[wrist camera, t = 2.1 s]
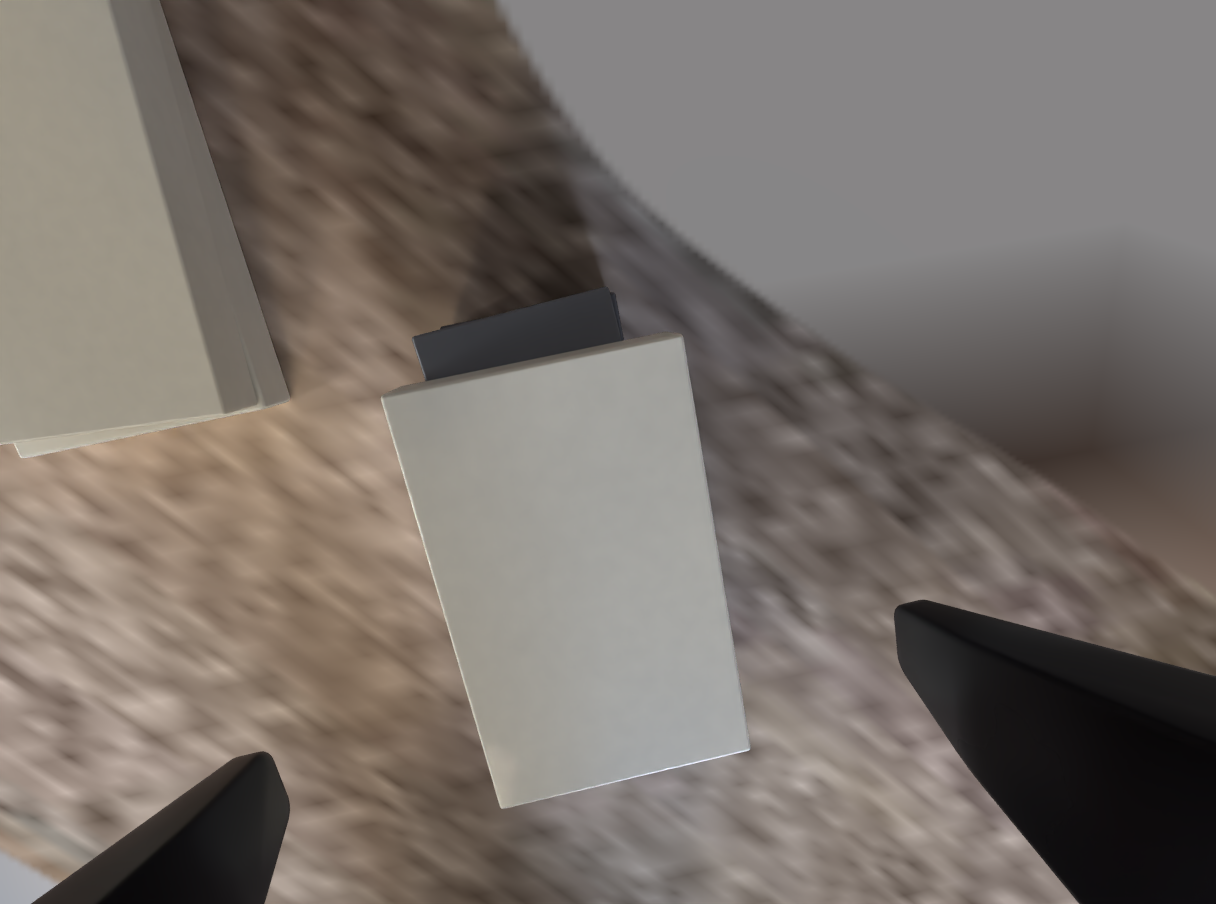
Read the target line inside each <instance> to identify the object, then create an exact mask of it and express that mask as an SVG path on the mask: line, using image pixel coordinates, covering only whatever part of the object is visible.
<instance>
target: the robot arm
mask: <svg viewBox="0 0 1216 904" xmlns="http://www.w3.org/2000/svg"><path fill="white" fill-rule="evenodd" d="M894 621H895V632H896V643H897V654H898V660H899V663H900V666H901V668H902V670H903V672H904V674H905V676H906V677H907V679H908V680H909V682H910V683H911V684H912V686H913V687H914V689H915V690H916V692H917V693H918V695H919V696H920V698H921V699H922V701H923V702H924V704H925V705H926V707H927V708H928V710H929V711H930V713H931V714H932V716H933V717H934V719H935V720H936V722H937V723H938V725H939V726H940V728H941V729H942V731H943V732H944V734H945V735H946V737H947V738H948V739H949V741H950V742H951V744H952V745H953V747H954V748H955V750H956V751H957V753H958V754H959V756H960V757H961V758H962V760H963V761H964V763H965V764H966V765H967V767H968V768H969V770H970V771H971V772H972V773H973V775H974V776H975V777H976V778H977V780H978V781H979V782H980V784H981V785H982V786H983V787H984V788H985V790H986V791H987V792H988V793H989V795H990V796H991V797H992V798H993V799H994V801H995V802H996V803H997V804H998V805H999V807H1000V808H1001V809H1002V810H1003V812H1004V813H1005V814H1006V815H1007V816H1008V818H1009V819H1010V820H1011V821H1012V823H1013V824H1014V825H1015V826H1016V827H1017V829H1018V830H1019V831H1020V832H1021V833H1022V835H1023V836H1024V837H1025V838H1026V840H1027V841H1028V842H1029V843H1030V844H1031V846H1032V847H1033V848H1034V849H1035V850H1036V852H1037V853H1038V854H1039V855H1040V857H1041V858H1042V859H1043V860H1044V861H1045V863H1046V864H1047V865H1048V866H1049V868H1050V869H1051V870H1052V871H1053V872H1054V874H1055V875H1056V876H1057V877H1058V878H1059V880H1060V881H1061V882H1062V883H1063V885H1064V886H1065V887H1066V888H1067V889H1068V891H1069V892H1070V893H1071V894H1072V895H1073V897H1074V898H1075V899H1076V900H1077V902H1078V903H1079V904H1216V676H1212V675H1209V674H1205V673H1201V672H1197V671H1193V670H1190V669H1186V668H1182V667H1178V666H1174V665H1171V664H1167V663H1163V662H1159V661H1155V660H1152V659H1148V658H1144V657H1140V656H1136V655H1133V654H1129V653H1125V652H1121V651H1117V650H1114V649H1110V648H1106V647H1102V646H1099V645H1095V644H1091V643H1087V642H1083V641H1080V640H1076V639H1072V638H1068V637H1064V636H1061V635H1057V634H1053V633H1049V632H1046V631H1042V630H1038V629H1034V628H1030V627H1027V626H1023V625H1019V624H1015V623H1011V622H1008V621H1004V620H1000V619H996V618H993V617H989V616H985V615H981V614H977V613H974V612H970V611H966V610H962V609H958V608H955V607H951V606H947V605H943V604H940V603H936V602H932V601H928V600H918V601H914V602H910V603H905V604H901V605H899V606H898V607H897V608H896V609H895V613H894ZM289 813H290V803H289V798H288V795H287V793H286V790H285V787H284V785H283V782H282V780H281V777H280V775H279V772H278V770H277V767H276V765H275V762H274V760H273V758H272V756H271V755H270V754H269V753H267V752H264V751H263V752H257V753H252V754H248V755H244V756H239V757H236V758H234V759H232V760H230V761H229V762H228V763H226V764H225V765H223V766H222V767H221V768H219V769H218V770H216V771H215V772H214V773H212V774H211V775H210V776H208V777H207V778H205V779H204V780H203V781H201V782H200V783H198V784H197V785H196V786H194V787H193V788H191V789H190V790H189V791H187V792H186V793H184V794H183V795H182V796H180V797H179V798H178V799H176V800H175V801H173V802H172V803H171V804H169V805H168V806H166V807H165V808H164V809H162V810H161V811H159V812H158V813H157V814H155V815H154V816H152V817H151V818H150V819H148V820H147V821H146V822H144V823H143V824H141V825H140V826H139V827H137V828H136V829H134V830H133V831H132V832H130V833H129V834H127V835H126V836H125V837H123V838H122V839H120V840H119V841H118V842H116V843H115V844H114V845H112V846H111V847H109V848H108V849H107V850H105V851H104V852H102V853H101V854H100V855H98V856H97V857H95V858H94V859H93V860H91V861H90V862H88V863H87V864H86V865H84V866H83V867H82V868H80V869H79V870H77V871H76V872H75V873H73V874H72V875H70V876H69V877H68V878H66V879H65V880H63V881H62V882H61V883H59V884H58V885H56V886H55V887H54V888H52V889H51V890H50V891H48V892H47V893H46V894H44V895H43V896H41V897H40V898H38V899H37V900H36V901H34V902H33V903H32V904H264V903H265V900H266V896H267V893H268V889H269V886H270V882H271V879H272V876H273V872H274V869H275V865H276V862H277V858H278V855H279V851H280V848H281V844H282V841H283V837H284V834H285V830H286V827H287V823H288V819H289Z"/></svg>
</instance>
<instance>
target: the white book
mask: <svg viewBox="0 0 1216 904" xmlns="http://www.w3.org/2000/svg"><path fill="white" fill-rule="evenodd" d="M381 401H382V405H383V408H384V412H385V415H386V418H387V422H388V425H389V429H390V432H391V435H392V439H393V442H394V446H395V449H396V453H397V456H398V459H399V463H400V466H401V470H402V473H403V476H404V480H405V483H406V487H407V490H408V494H409V497H410V500H411V504H412V507H413V511H414V514H415V518H416V521H417V524H418V528H419V531H420V535H421V538H422V541H423V545H424V548H425V552H426V555H427V559H428V562H429V565H430V569H431V572H432V576H433V579H434V582H435V586H436V589H437V593H438V596H439V600H440V603H441V606H442V610H443V613H444V617H445V620H446V624H447V627H448V630H449V634H450V637H451V641H452V644H453V647H454V651H455V654H456V658H457V661H458V665H459V668H460V671H461V675H462V678H463V682H464V685H465V688H466V692H467V695H468V699H469V702H470V706H471V709H472V712H473V716H474V719H475V723H476V726H477V730H478V733H479V736H480V740H481V743H482V747H483V750H484V753H485V757H486V760H487V764H488V767H489V771H490V774H491V777H492V781H493V784H494V788H495V791H496V794H497V798H498V801H499V805H500V807H501V808H503V809H504V808H509V807H513V806H517V805H521V804H525V803H530V802H534V801H538V800H542V799H546V798H551V797H555V796H559V795H563V794H567V793H572V792H576V791H580V790H584V789H588V788H593V787H597V786H601V785H605V784H609V783H614V782H618V781H622V780H626V779H631V778H635V777H639V776H643V775H647V774H652V773H656V772H660V771H664V770H668V769H673V768H677V767H681V766H685V765H689V764H694V763H698V762H702V761H706V760H710V759H715V758H719V757H723V756H727V755H731V754H736V753H740V752H744V751H748V750H750V740H749V734H748V728H747V722H746V716H745V710H744V704H743V697H742V691H741V685H740V679H739V673H738V667H737V661H736V655H735V649H734V643H733V637H732V631H731V624H730V618H729V612H728V606H727V600H726V594H725V588H724V582H723V576H722V570H721V564H720V558H719V551H718V545H717V539H716V533H715V527H714V521H713V515H712V509H711V503H710V497H709V491H708V485H707V478H706V472H705V466H704V460H703V454H702V448H701V442H700V436H699V430H698V424H697V418H696V411H695V405H694V399H693V393H692V387H691V381H690V375H689V369H688V363H687V357H686V351H685V345H684V338H683V336H682V334H679V333H671V332H662V333H657V334H653V335H648V336H643V337H638V338H633V339H628V340H623V341H619V342H614V343H609V344H604V345H599V346H594V347H590V348H585V349H580V350H575V351H570V352H565V353H560V354H556V355H551V356H546V357H541V358H536V359H531V360H527V361H522V362H517V363H512V364H507V365H502V366H498V367H493V368H488V369H483V370H478V371H473V372H468V373H464V374H459V375H454V376H449V377H444V378H439V379H435V380H430V381H425V382H420V383H415V384H410V385H405V386H401V387H399V388H397V389H395V390H392V391H390V392H388V393H386V394H384V395H382V396H381Z"/></svg>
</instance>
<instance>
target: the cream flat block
mask: <svg viewBox="0 0 1216 904" xmlns="http://www.w3.org/2000/svg"><path fill="white" fill-rule="evenodd" d="M289 400H290V395H289V392H288V389H287V386H286V383H285V380H284V377H283V374H282V371H281V368H280V365H279V362H278V359H277V356H276V353H275V350H274V347H273V344H272V341H271V337H270V334H269V331H268V328H267V325H266V322H265V319H264V316H263V313H262V310H261V307H260V304H259V301H258V298H257V295H256V292H255V289H254V286H253V283H252V280H251V277H250V274H249V271H248V268H247V265H246V262H245V258H244V255H243V252H242V249H241V246H240V243H239V240H238V237H237V234H236V231H235V228H234V225H233V222H232V219H231V216H230V213H229V210H228V207H227V204H226V201H225V198H224V195H223V192H222V189H221V186H220V183H219V179H218V176H217V173H216V170H215V167H214V164H213V161H212V158H211V155H210V152H209V149H208V146H207V143H206V140H205V137H204V134H203V131H202V128H201V125H200V122H199V119H198V116H197V113H196V110H195V107H194V104H193V100H192V97H191V94H190V91H189V88H188V85H187V82H186V79H185V76H184V73H183V70H182V67H181V64H180V61H179V58H178V55H177V52H176V49H175V46H174V43H173V40H172V37H171V34H170V31H169V28H168V24H167V21H166V18H165V15H164V12H163V9H162V6H161V3H160V0H0V445H5V444H12V443H14V445H15V447H16V450H17V452H18V454H19V456H20V457H21V458H30V457H35V456H40V455H44V454H49V453H54V452H59V451H64V450H69V449H74V448H78V447H83V446H88V445H93V444H98V443H103V442H107V441H112V440H117V439H122V438H127V437H132V436H137V435H141V434H146V433H151V432H156V431H161V430H166V429H171V428H175V427H180V426H185V425H190V424H195V423H200V422H205V421H209V420H214V419H219V418H224V417H229V416H234V415H239V414H243V413H248V412H253V411H258V410H263V409H266V408H270V407H273V406H276V405H279V404H282V403H285V402H288V401H289Z"/></svg>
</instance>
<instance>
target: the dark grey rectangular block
mask: <svg viewBox="0 0 1216 904" xmlns="http://www.w3.org/2000/svg"><path fill="white" fill-rule="evenodd" d="M623 340H624V338H623V332H622V327H621V322H620V317H619V311H618V306H617V301H616V295H615V293H613V292H610V291H609V288H608V287H602V288H598V289H594V290H590V291H586V292H582V293H579V294H575V295H571V296H567V297H563V298H559V299H555V300H552V301H548V302H544V303H540V304H536V305H532V306H529V307H525V308H521V309H517V310H513V311H509V312H505V313H502V314H498V315H494V316H490V317H486V318H482V319H477V320H472V321H467V322H462V323H457V324H452V325H447V326H442V327H441V328H440V330H436V331H432V332H428V333H425V334H421V335H417V336H414V337H412V341H413V344H414V347H415V350H416V353H417V356H418V359H419V362H420V365H421V369H422V372H423V375H424V378H425V381H430V380H435V379H439V378H444V377H449V376H454V375H459V374H464V373H468V372H473V371H478V370H483V369H488V368H493V367H498V366H502V365H507V364H512V363H517V362H522V361H527V360H531V359H536V358H541V357H546V356H551V355H556V354H560V353H565V352H570V351H575V350H580V349H585V348H590V347H594V346H599V345H604V344H609V343H614V342H619V341H623Z"/></svg>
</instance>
